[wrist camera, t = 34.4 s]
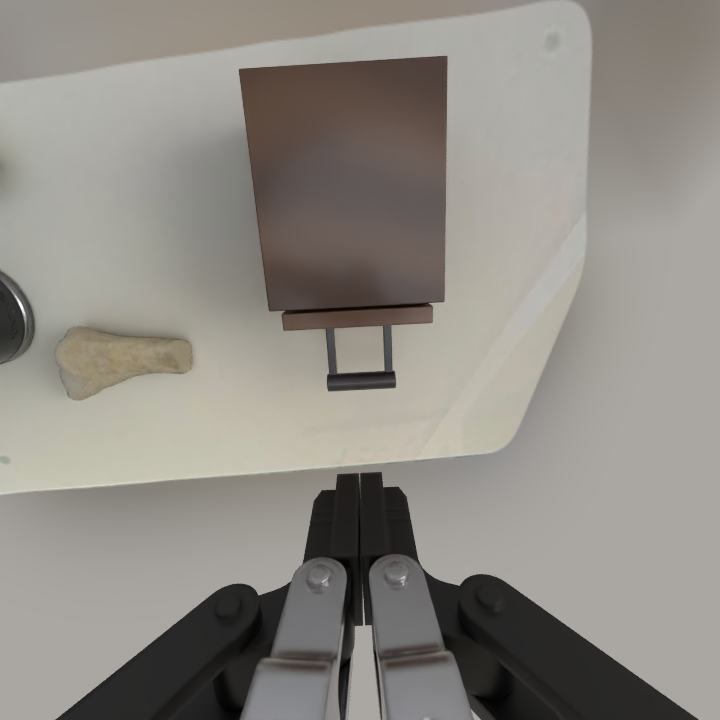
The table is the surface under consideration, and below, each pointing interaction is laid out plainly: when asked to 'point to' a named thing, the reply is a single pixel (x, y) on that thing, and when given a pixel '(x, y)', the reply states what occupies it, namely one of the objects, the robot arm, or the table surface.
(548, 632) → the robot arm
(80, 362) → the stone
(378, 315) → the drawer
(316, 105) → the cabinet
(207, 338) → the table surface
